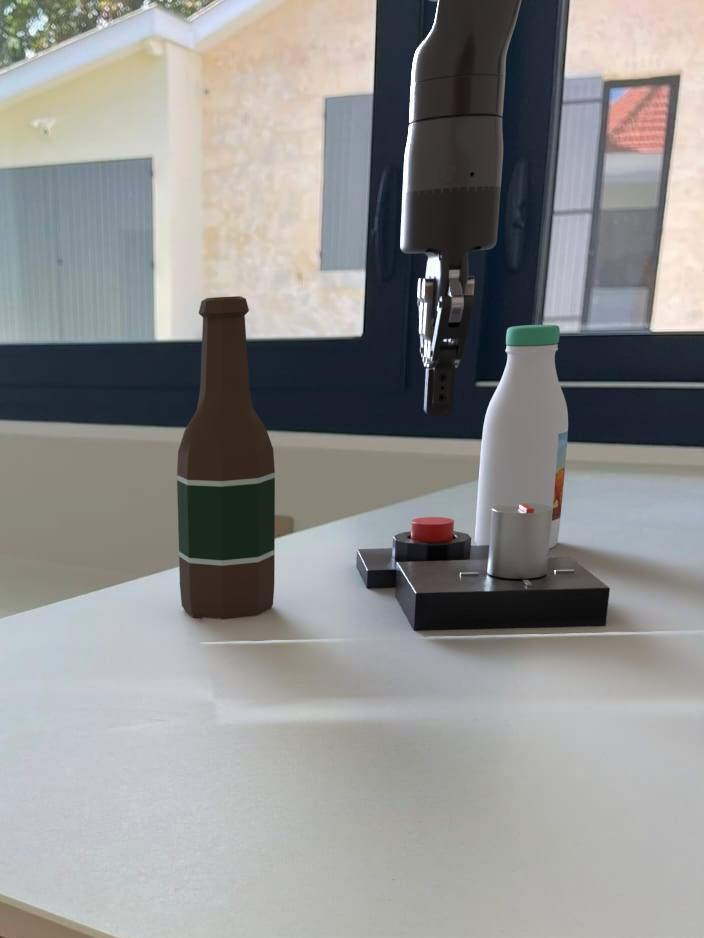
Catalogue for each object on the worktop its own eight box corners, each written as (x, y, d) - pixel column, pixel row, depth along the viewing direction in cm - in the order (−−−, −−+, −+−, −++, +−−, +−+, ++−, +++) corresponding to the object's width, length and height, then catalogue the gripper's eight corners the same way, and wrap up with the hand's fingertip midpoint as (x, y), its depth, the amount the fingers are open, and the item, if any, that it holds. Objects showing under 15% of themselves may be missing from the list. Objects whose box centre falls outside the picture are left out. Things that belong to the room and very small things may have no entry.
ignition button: (449, 536, 109) (450, 516, 108) (456, 544, 106) (457, 523, 105) (408, 537, 109) (408, 517, 109) (413, 545, 106) (414, 525, 105)
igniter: (488, 563, 112) (491, 525, 111) (509, 585, 104) (513, 544, 103) (356, 567, 114) (357, 529, 112) (366, 589, 105) (368, 549, 104)
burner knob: (481, 568, 97) (486, 500, 95) (537, 565, 97) (543, 498, 95) (495, 580, 93) (500, 510, 91) (553, 578, 93) (560, 507, 91)
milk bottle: (536, 557, 114) (556, 327, 106) (459, 549, 119) (474, 328, 111) (571, 542, 119) (592, 322, 111) (496, 535, 124) (512, 323, 116)
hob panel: (567, 592, 101) (571, 554, 100) (605, 627, 91) (610, 585, 90) (394, 597, 102) (396, 559, 101) (413, 632, 92) (415, 590, 91)
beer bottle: (272, 621, 97) (273, 295, 88) (174, 621, 99) (165, 300, 89) (276, 597, 104) (277, 293, 95) (185, 598, 106) (178, 298, 96)
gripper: (518, 177, 90) (499, 421, 97) (483, 189, 102) (469, 405, 109) (415, 183, 91) (403, 424, 98) (392, 194, 103) (383, 408, 110)
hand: (437, 414), depth 103 cm, fingers closed
